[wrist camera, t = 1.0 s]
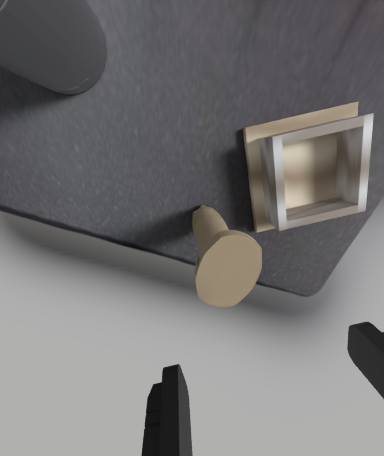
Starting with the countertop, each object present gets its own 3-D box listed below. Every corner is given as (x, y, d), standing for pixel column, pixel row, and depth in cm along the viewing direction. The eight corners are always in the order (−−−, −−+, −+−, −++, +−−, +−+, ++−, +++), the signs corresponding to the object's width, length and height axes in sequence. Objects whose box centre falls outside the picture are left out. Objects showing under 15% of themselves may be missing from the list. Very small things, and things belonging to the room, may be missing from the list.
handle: (227, 198, 30) (273, 244, 16) (212, 239, 32) (242, 311, 18) (194, 188, 29) (213, 228, 15) (180, 231, 31) (186, 300, 17)
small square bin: (242, 128, 27) (257, 124, 22) (351, 103, 27) (389, 94, 22) (254, 229, 32) (268, 244, 28) (346, 208, 32) (376, 219, 28)
